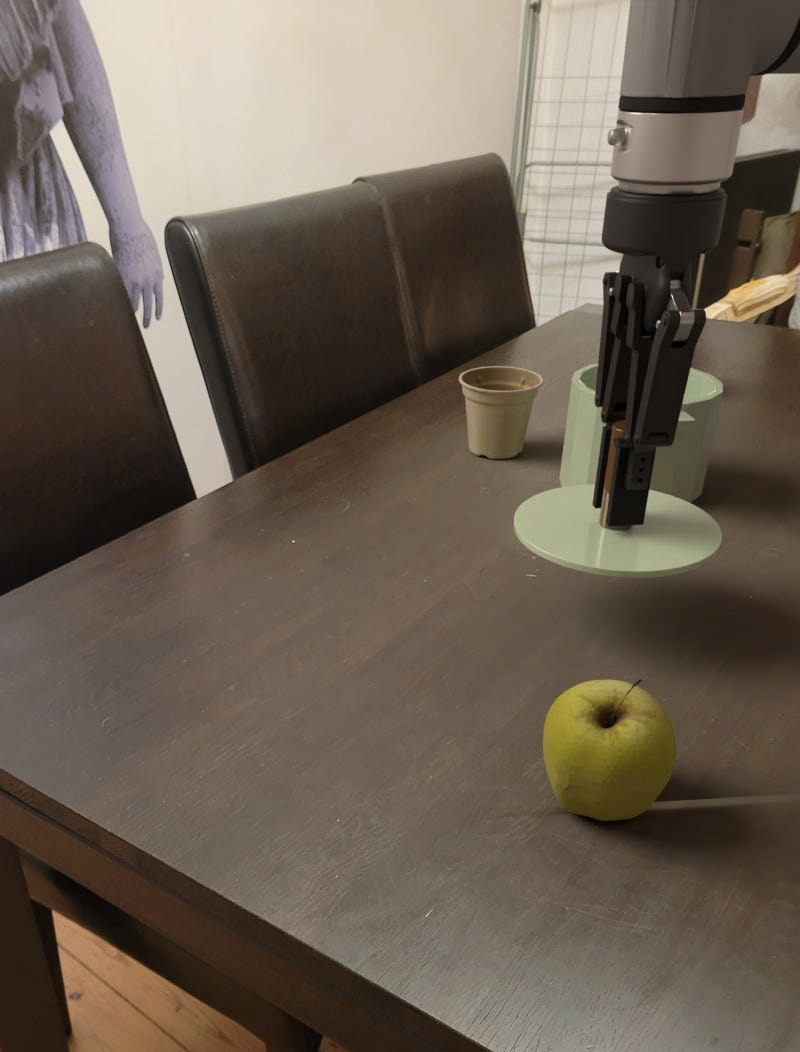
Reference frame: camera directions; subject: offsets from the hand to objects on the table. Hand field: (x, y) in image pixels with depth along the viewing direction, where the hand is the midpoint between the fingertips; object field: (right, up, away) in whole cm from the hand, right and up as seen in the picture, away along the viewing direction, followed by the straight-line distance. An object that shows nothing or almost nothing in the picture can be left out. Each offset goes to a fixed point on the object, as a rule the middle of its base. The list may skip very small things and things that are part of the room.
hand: (617, 513), depth 75 cm
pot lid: (0, -1, +1) cm, 1 cm away
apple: (-6, -20, -14) cm, 25 cm away
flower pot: (-3, +12, +38) cm, 40 cm away
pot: (+10, +7, +28) cm, 31 cm away
